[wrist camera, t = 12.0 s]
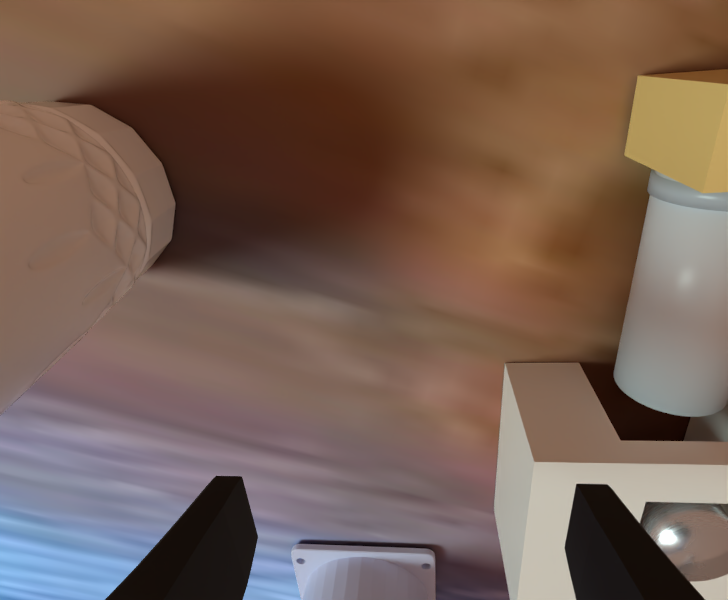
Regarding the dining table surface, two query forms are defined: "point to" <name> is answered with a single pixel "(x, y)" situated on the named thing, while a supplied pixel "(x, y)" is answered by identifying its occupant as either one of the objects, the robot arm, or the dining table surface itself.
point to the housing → (586, 472)
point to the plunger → (690, 536)
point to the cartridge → (679, 247)
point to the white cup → (70, 229)
